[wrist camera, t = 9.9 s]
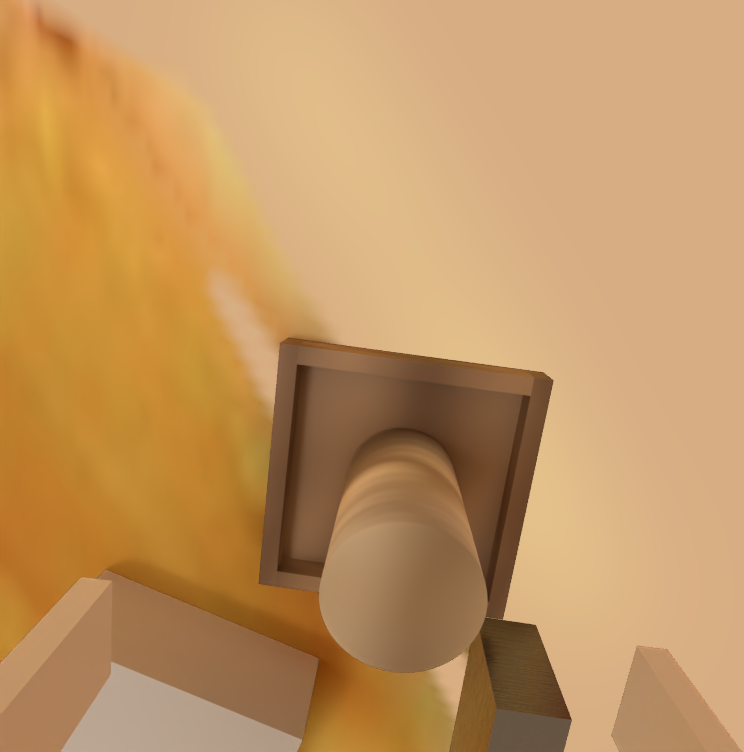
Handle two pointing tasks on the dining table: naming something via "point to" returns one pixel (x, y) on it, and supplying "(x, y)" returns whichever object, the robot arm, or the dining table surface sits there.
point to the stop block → (510, 694)
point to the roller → (402, 558)
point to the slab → (193, 682)
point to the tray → (386, 411)
